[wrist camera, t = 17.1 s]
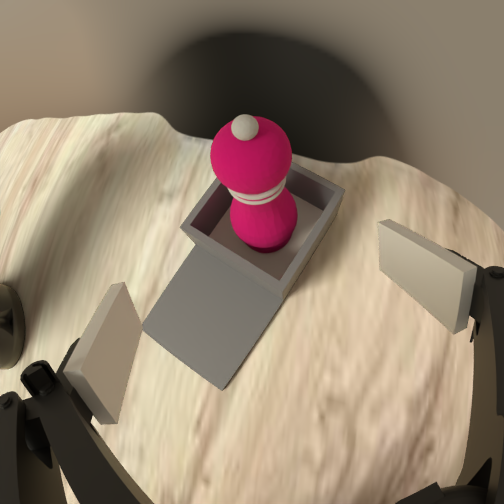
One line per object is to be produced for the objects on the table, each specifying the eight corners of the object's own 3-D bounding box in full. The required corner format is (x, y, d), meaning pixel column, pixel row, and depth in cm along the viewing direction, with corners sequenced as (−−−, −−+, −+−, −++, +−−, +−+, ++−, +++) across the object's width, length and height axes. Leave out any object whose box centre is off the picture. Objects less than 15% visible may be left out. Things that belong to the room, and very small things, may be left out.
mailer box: (142, 328, 36) (115, 324, 30) (252, 169, 40) (246, 140, 34) (222, 389, 33) (208, 400, 27) (336, 214, 37) (345, 189, 31)
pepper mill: (292, 198, 38) (290, 76, 19) (300, 253, 36) (311, 158, 17) (234, 205, 38) (188, 92, 19) (239, 261, 36) (186, 176, 17)
